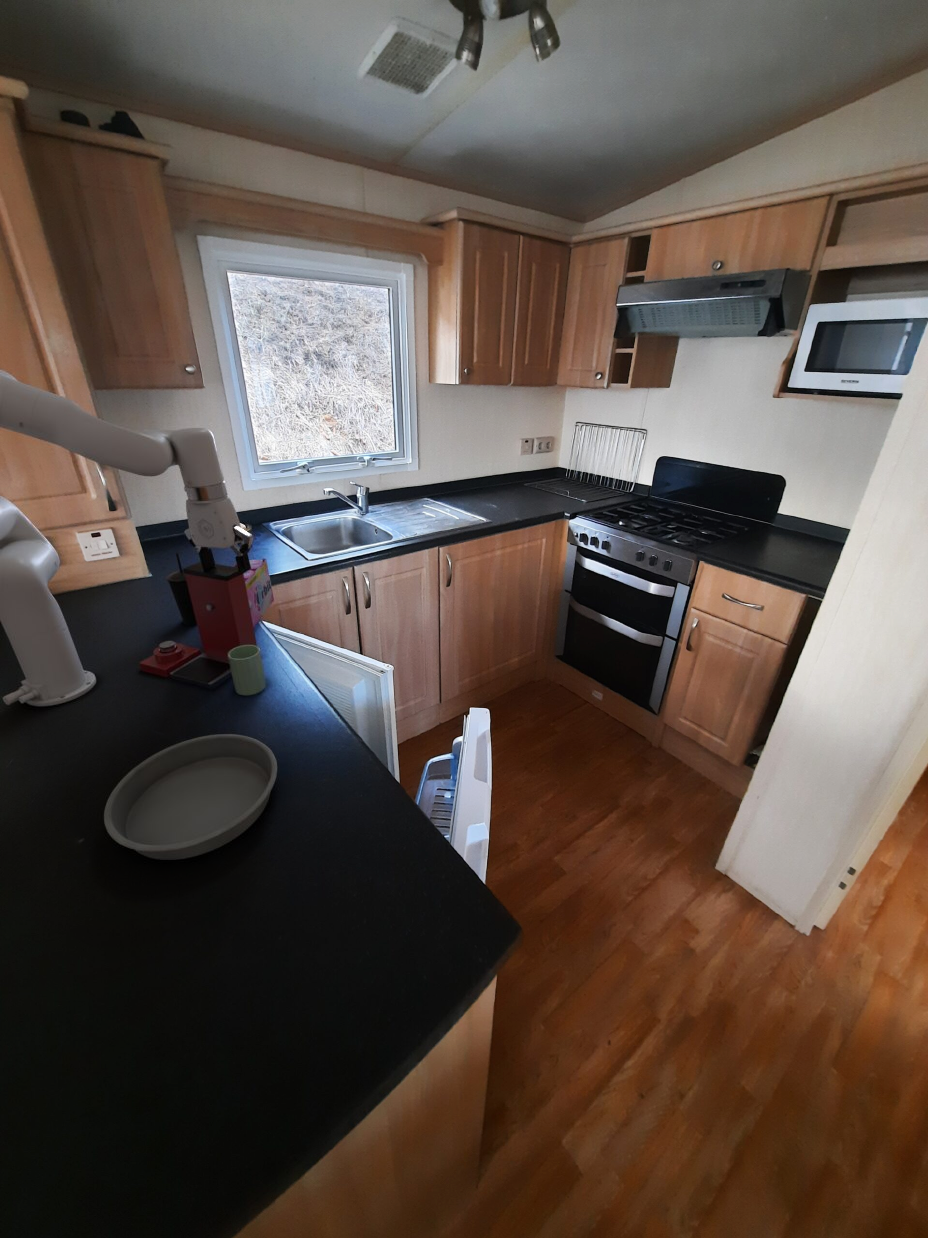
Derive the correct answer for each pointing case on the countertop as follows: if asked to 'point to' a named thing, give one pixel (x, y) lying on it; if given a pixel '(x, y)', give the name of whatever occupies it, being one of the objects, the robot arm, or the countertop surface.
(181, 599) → the drinking cup
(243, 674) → the cup
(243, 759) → the cake pan
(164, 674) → the button block
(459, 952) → the countertop surface
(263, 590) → the gum box
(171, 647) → the button
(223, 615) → the coffee maker
